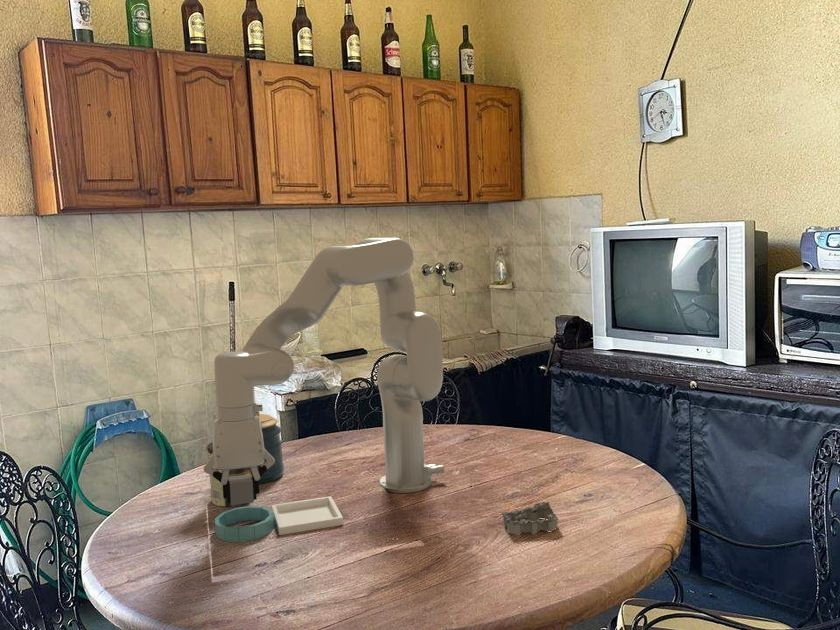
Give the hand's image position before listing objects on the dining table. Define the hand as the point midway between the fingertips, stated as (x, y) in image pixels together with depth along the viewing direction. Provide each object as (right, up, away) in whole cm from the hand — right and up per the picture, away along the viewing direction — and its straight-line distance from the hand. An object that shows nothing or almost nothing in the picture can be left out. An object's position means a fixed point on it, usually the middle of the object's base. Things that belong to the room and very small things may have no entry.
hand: (241, 498), depth 150 cm
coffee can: (-6, -6, +19) cm, 21 cm away
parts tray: (+13, -6, +6) cm, 15 cm away
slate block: (0, 0, 0) cm, 0 cm away
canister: (-4, -4, +36) cm, 36 cm away
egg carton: (+59, -6, -1) cm, 60 cm away
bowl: (+1, -7, +1) cm, 8 cm away
